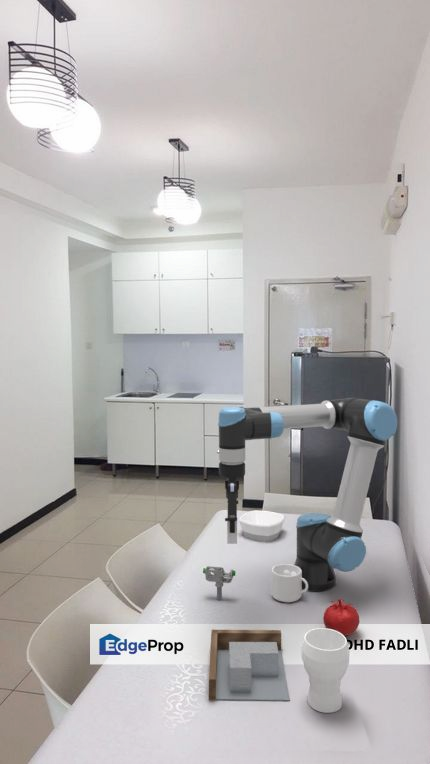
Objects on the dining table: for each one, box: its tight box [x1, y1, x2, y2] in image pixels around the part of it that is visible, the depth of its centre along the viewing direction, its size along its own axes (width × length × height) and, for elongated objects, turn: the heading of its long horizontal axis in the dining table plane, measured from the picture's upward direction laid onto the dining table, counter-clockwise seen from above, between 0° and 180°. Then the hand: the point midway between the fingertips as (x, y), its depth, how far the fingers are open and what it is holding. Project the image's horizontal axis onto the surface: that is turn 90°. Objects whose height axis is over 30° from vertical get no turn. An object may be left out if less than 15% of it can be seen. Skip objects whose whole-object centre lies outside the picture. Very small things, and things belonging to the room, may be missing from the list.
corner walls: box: [208, 629, 282, 701], centre depth 136 cm, size 19×22×5 cm
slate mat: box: [215, 649, 291, 702], centre depth 135 cm, size 17×20×1 cm
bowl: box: [238, 509, 286, 543], centre depth 227 cm, size 18×18×9 cm
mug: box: [270, 563, 309, 603], centre depth 175 cm, size 12×10×9 cm
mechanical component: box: [202, 565, 236, 601], centre depth 174 cm, size 3×10×10 cm, turn 78°
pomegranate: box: [322, 598, 360, 636], centre depth 155 cm, size 10×10×9 cm
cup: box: [301, 627, 350, 714], centre depth 124 cm, size 11×11×15 cm
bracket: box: [229, 642, 279, 692], centre depth 133 cm, size 11×12×6 cm
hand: (232, 534), depth 157 cm, fingers open, 13 cm apart
